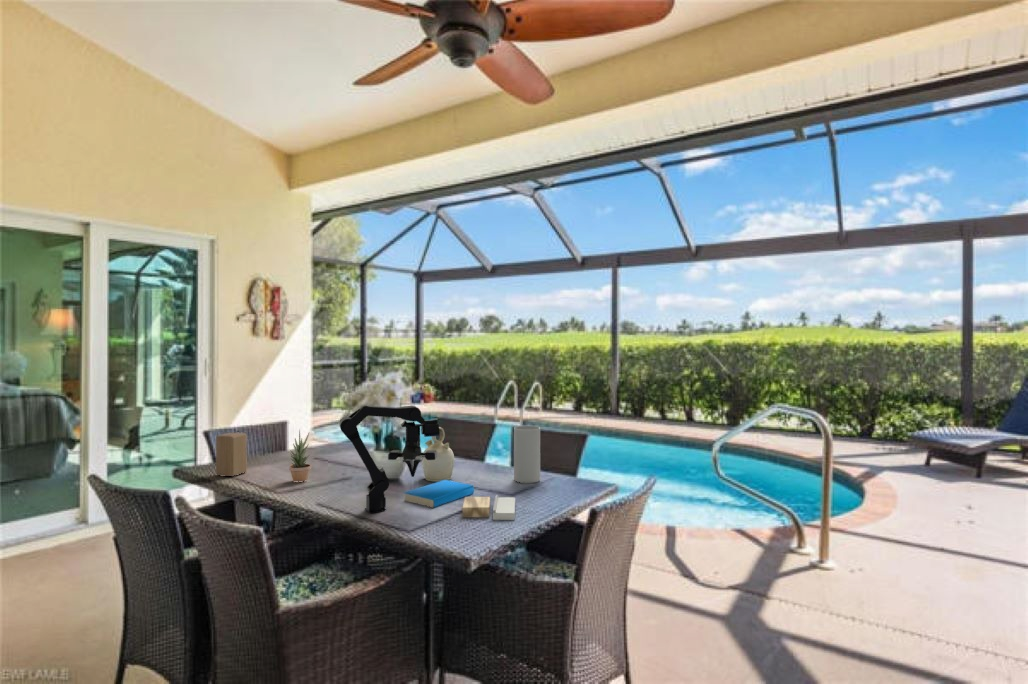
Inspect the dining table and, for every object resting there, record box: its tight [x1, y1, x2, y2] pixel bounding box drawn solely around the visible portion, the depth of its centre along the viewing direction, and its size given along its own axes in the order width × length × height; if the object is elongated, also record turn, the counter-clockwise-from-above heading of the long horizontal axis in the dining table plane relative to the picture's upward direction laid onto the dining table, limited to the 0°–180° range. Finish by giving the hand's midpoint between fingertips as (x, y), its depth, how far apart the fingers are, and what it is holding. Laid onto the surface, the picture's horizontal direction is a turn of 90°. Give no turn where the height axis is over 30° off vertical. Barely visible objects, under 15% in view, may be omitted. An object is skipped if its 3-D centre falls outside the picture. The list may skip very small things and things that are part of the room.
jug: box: [421, 426, 455, 483], centre depth 263 cm, size 15×16×25 cm
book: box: [404, 480, 475, 508], centre depth 233 cm, size 17×4×25 cm
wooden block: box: [215, 431, 248, 477], centre depth 270 cm, size 10×10×20 cm
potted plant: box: [289, 429, 312, 482], centre depth 258 cm, size 10×10×25 cm
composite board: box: [492, 494, 516, 521], centre depth 214 cm, size 8×20×4 cm, turn 179°
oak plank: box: [462, 496, 491, 518], centre depth 214 cm, size 4×14×10 cm
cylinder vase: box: [513, 425, 541, 484], centre depth 261 cm, size 12×12×25 cm
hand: (412, 476), depth 219 cm, fingers closed
